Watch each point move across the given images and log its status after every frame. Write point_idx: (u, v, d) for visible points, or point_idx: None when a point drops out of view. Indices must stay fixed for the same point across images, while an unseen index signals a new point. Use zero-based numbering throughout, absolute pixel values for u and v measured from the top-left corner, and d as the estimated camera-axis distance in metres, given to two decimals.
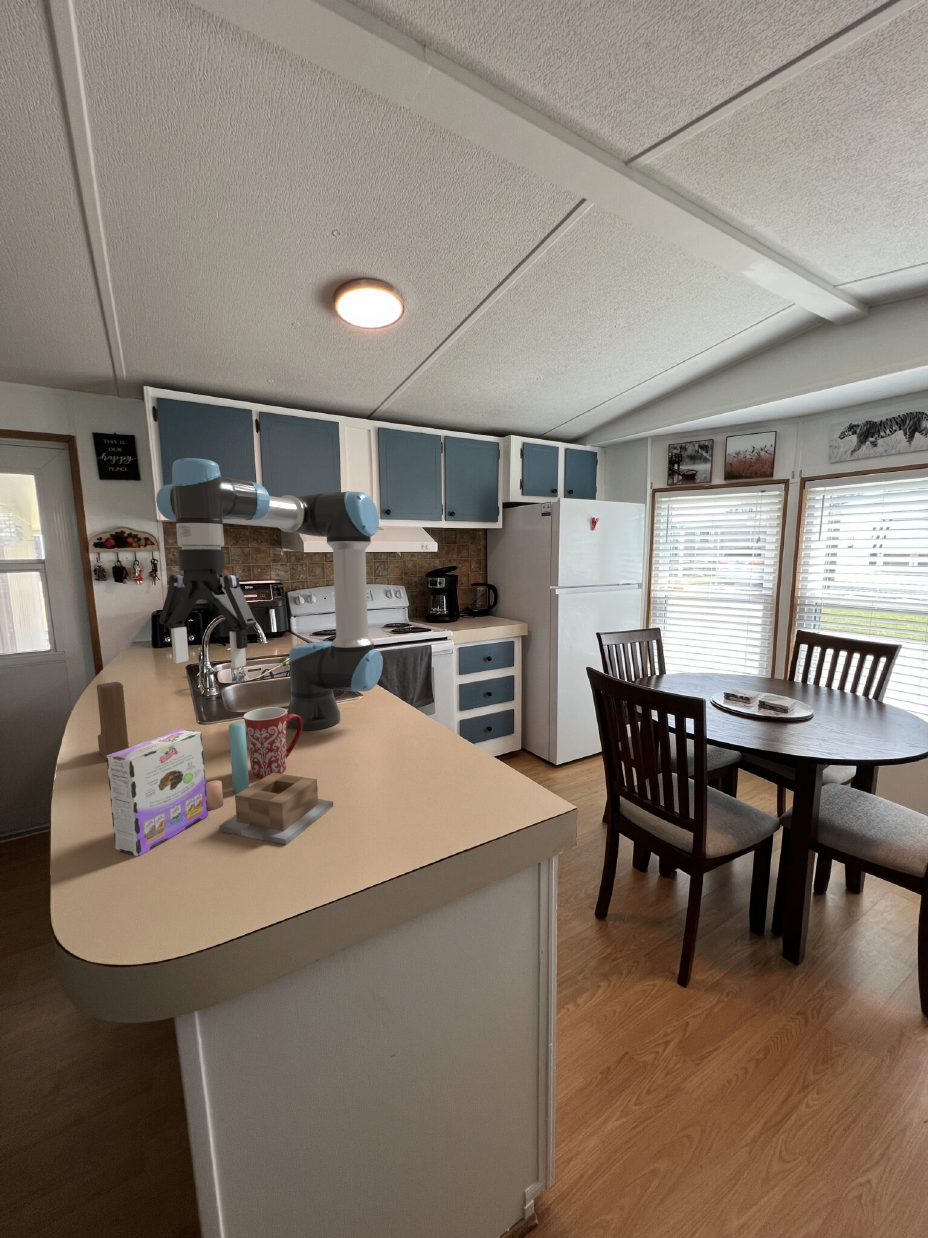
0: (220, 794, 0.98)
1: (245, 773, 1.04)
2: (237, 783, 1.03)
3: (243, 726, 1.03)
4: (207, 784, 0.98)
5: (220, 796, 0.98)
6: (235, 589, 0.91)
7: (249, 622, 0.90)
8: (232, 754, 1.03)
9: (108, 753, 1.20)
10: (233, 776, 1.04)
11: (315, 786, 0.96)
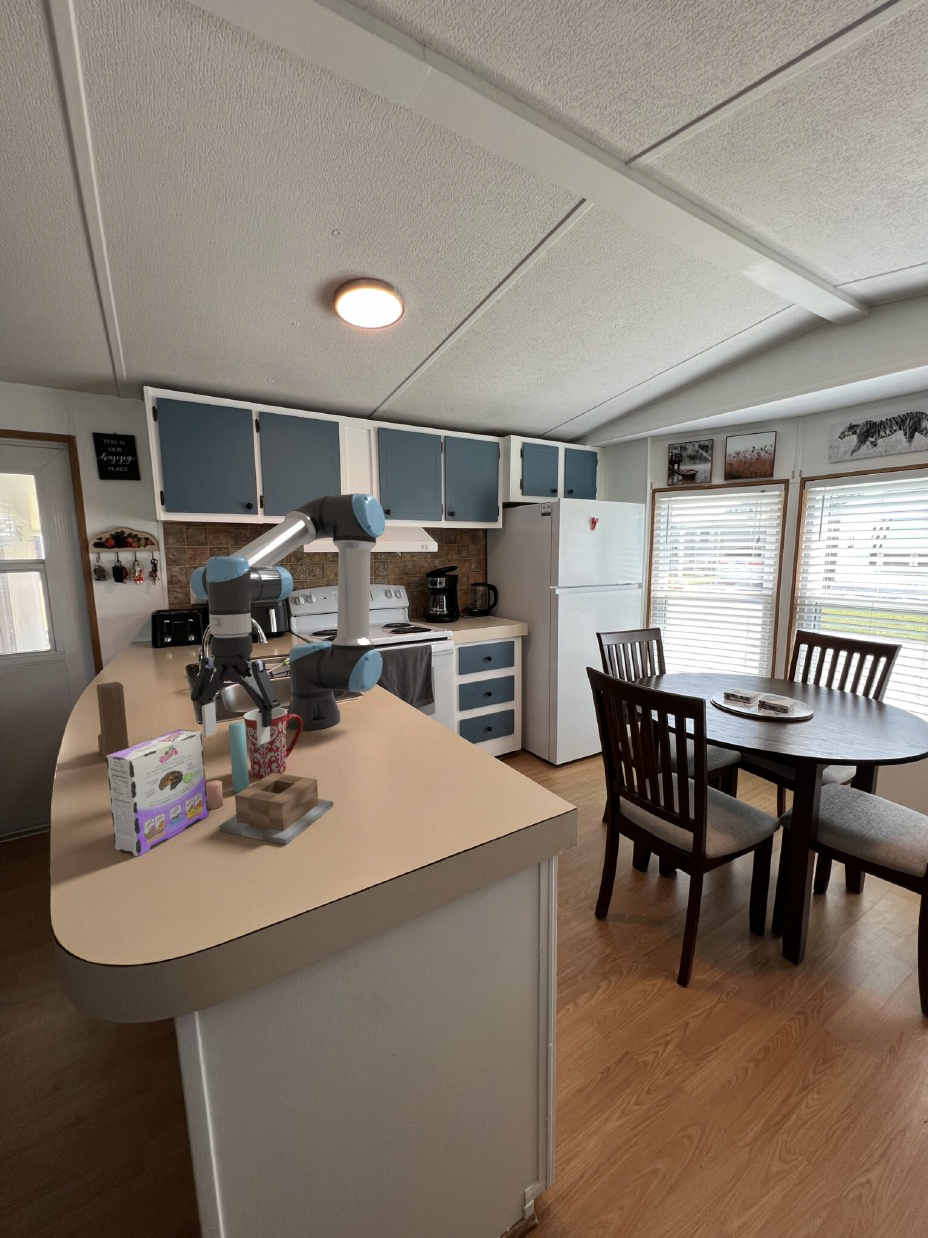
0: (220, 794, 0.98)
1: (245, 773, 1.04)
2: (237, 783, 1.03)
3: (243, 726, 1.03)
4: (207, 784, 0.98)
5: (220, 796, 0.98)
6: (262, 673, 1.00)
7: (274, 704, 0.99)
8: (232, 754, 1.03)
9: (108, 753, 1.20)
10: (233, 776, 1.04)
11: (315, 786, 0.96)
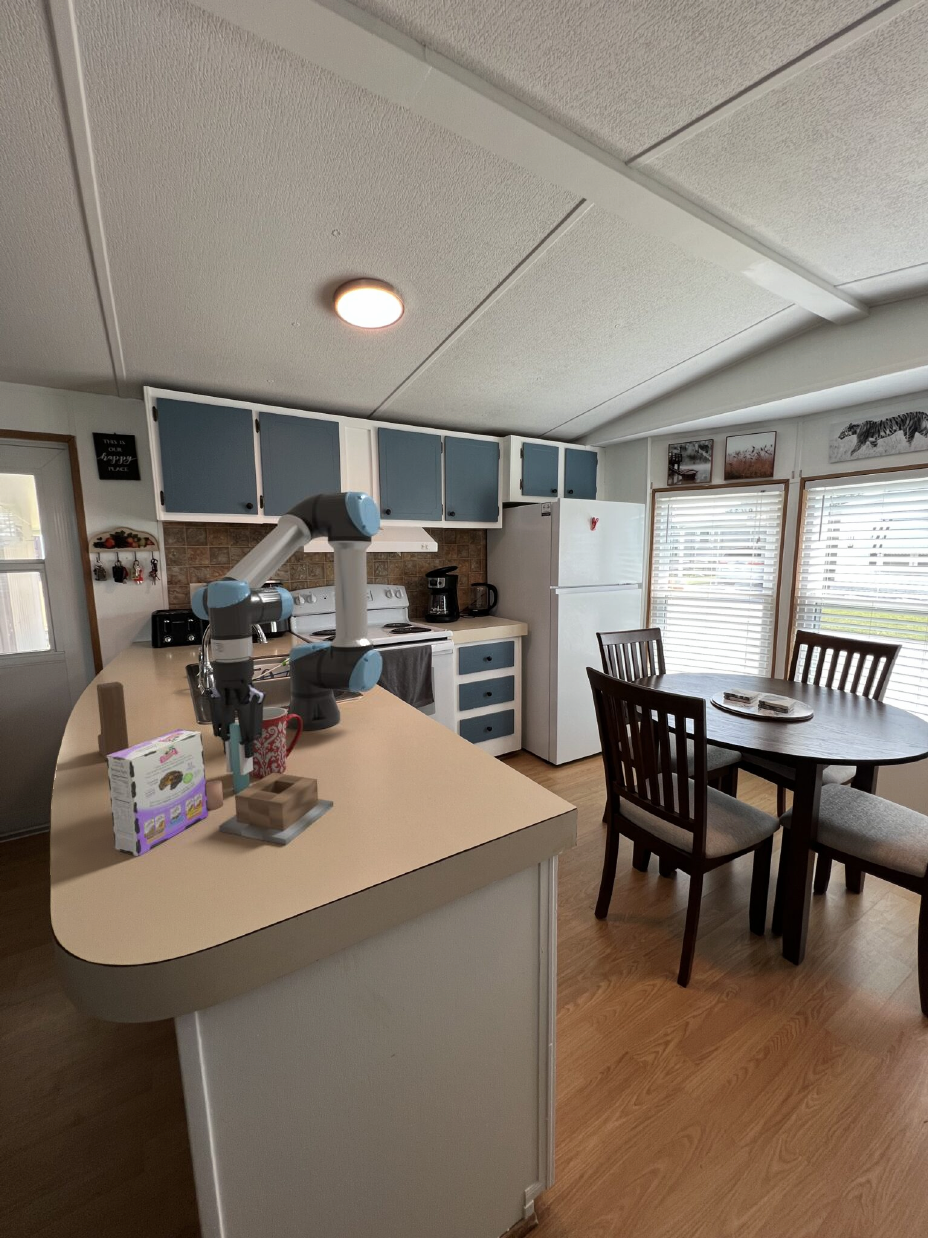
0: (220, 794, 0.98)
1: None
2: (237, 783, 1.04)
3: None
4: (207, 784, 0.98)
5: (220, 796, 0.98)
6: (258, 706, 1.01)
7: (256, 736, 1.02)
8: (233, 754, 1.03)
9: (108, 753, 1.20)
10: (234, 776, 1.04)
11: (315, 786, 0.96)
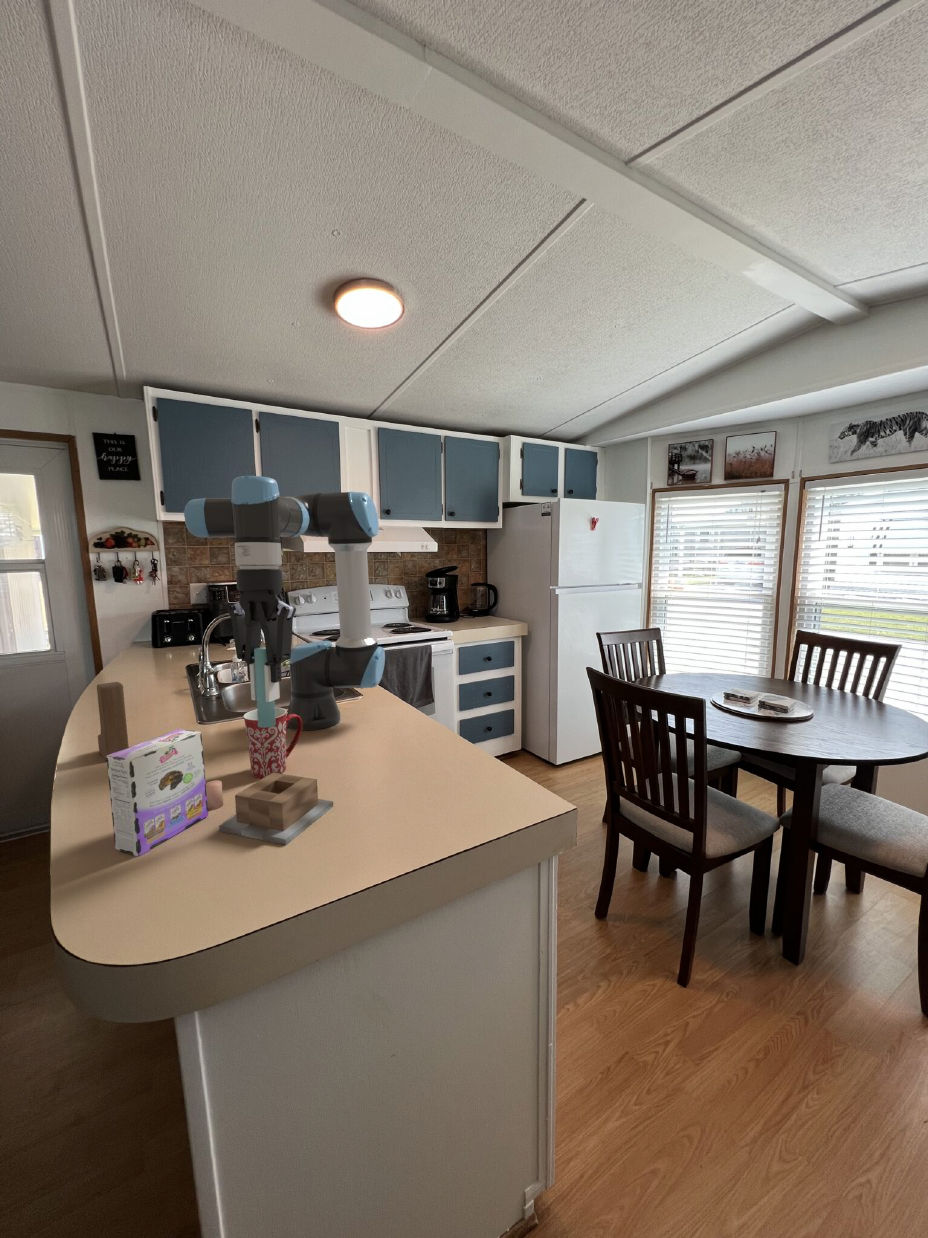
0: (220, 794, 0.98)
1: (271, 704, 0.91)
2: (262, 715, 0.91)
3: None
4: (207, 784, 0.98)
5: (220, 796, 0.98)
6: (287, 622, 0.88)
7: (284, 656, 0.89)
8: (257, 682, 0.90)
9: (108, 753, 1.20)
10: (258, 707, 0.91)
11: (315, 786, 0.96)
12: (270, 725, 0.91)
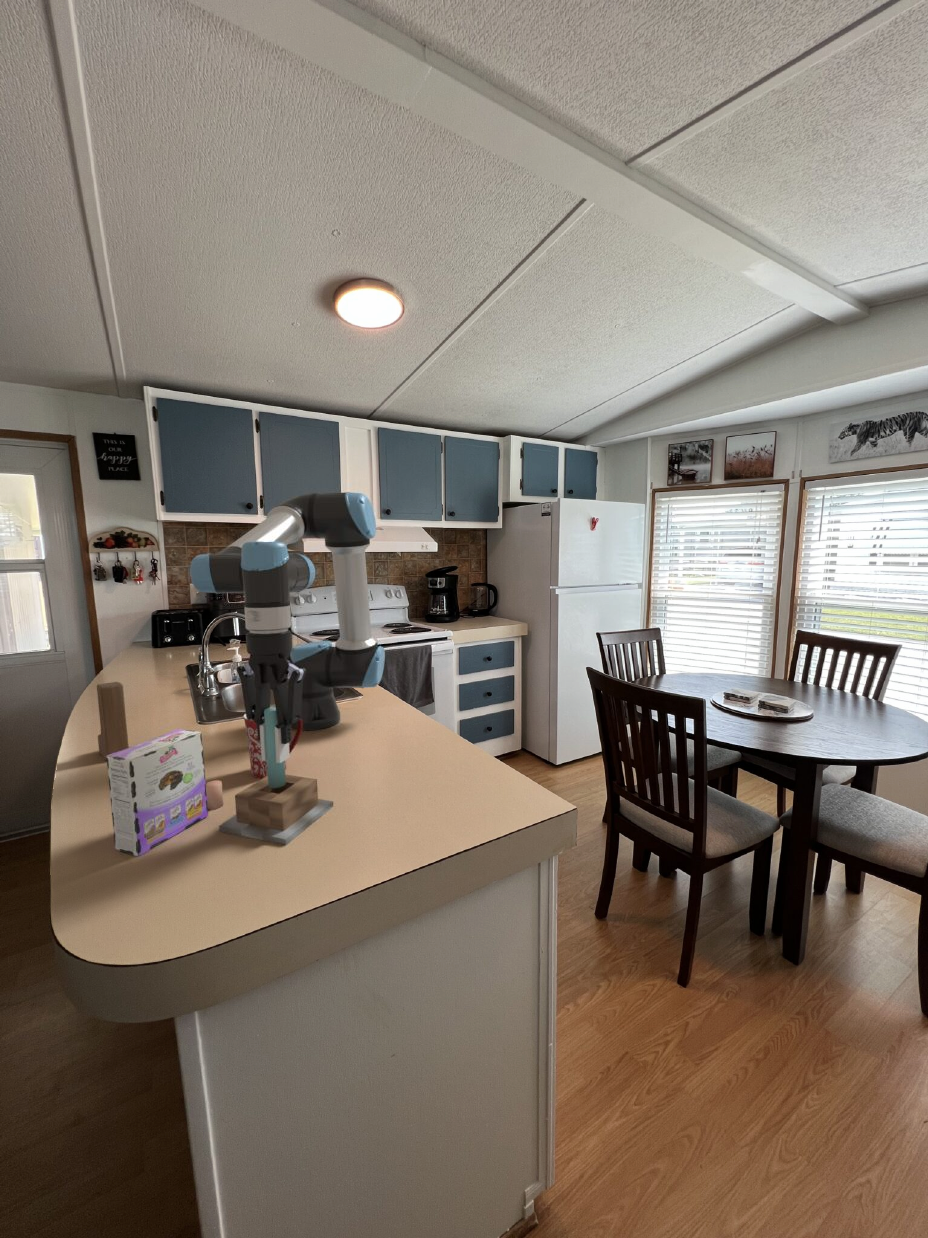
0: (220, 794, 0.98)
1: (282, 765, 0.92)
2: (273, 776, 0.91)
3: None
4: (207, 784, 0.98)
5: (220, 796, 0.98)
6: (298, 685, 0.89)
7: (294, 718, 0.90)
8: (268, 743, 0.91)
9: (108, 753, 1.20)
10: (269, 768, 0.91)
11: (315, 786, 0.96)
12: (280, 785, 0.92)
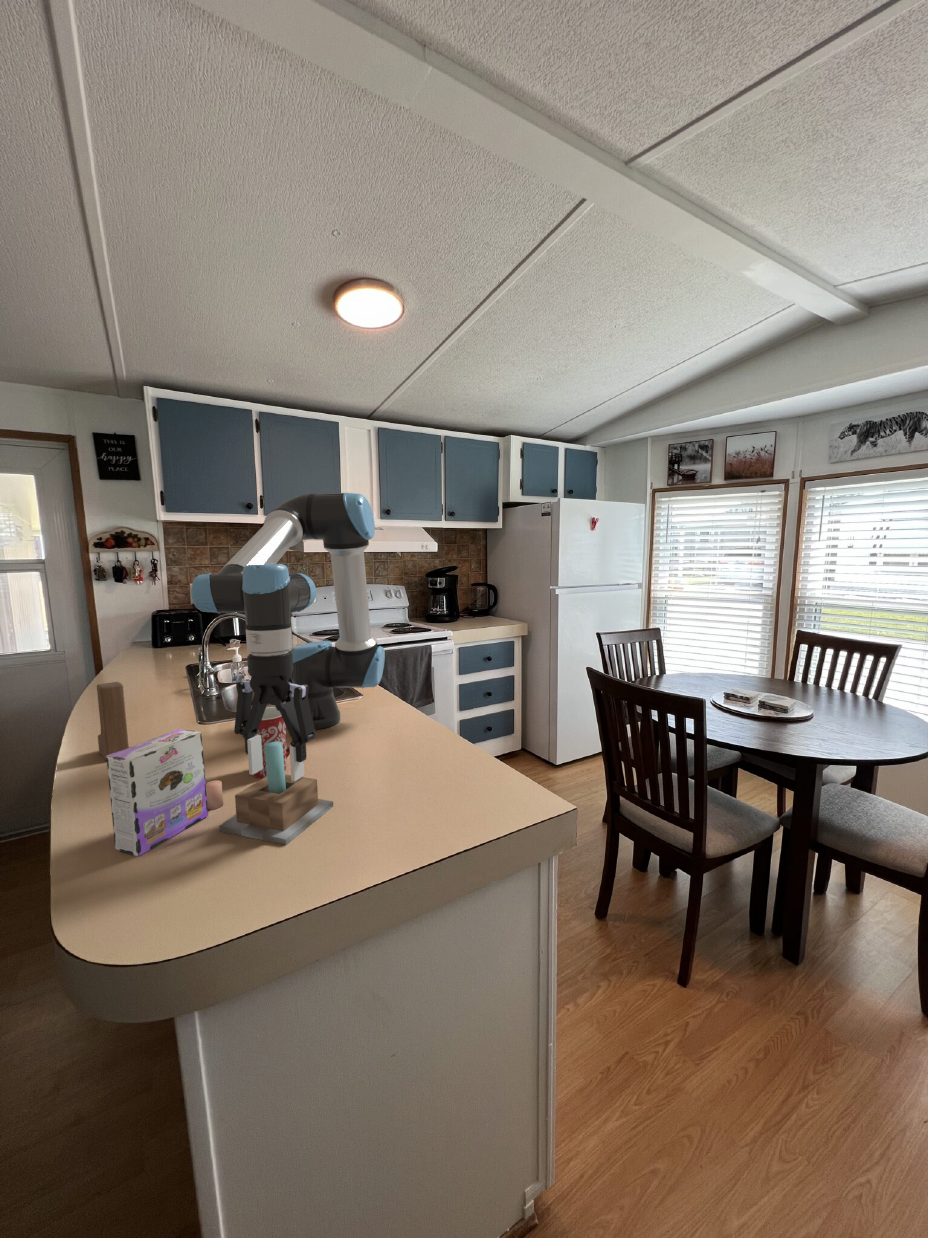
0: (220, 794, 0.98)
1: None
2: None
3: (280, 746, 0.92)
4: (207, 784, 0.98)
5: (220, 796, 0.98)
6: (303, 701, 0.89)
7: (309, 737, 0.89)
8: (269, 778, 0.92)
9: (108, 753, 1.20)
10: None
11: (315, 786, 0.96)
12: None
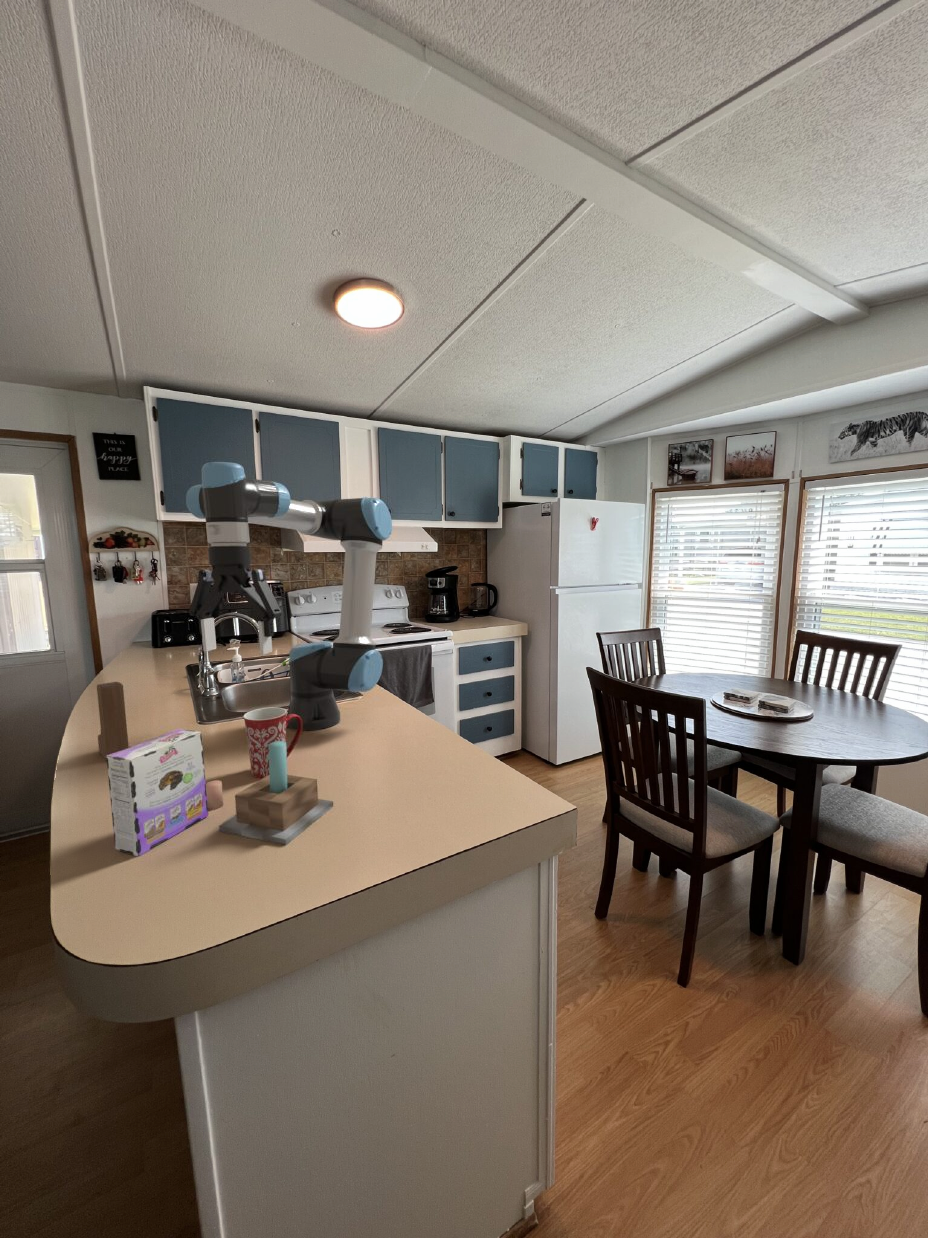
0: (220, 794, 0.98)
1: None
2: None
3: (284, 746, 0.92)
4: (207, 784, 0.98)
5: (220, 796, 0.98)
6: (262, 582, 0.99)
7: (276, 612, 0.99)
8: (271, 777, 0.92)
9: (108, 753, 1.20)
10: None
11: (315, 786, 0.96)
12: None
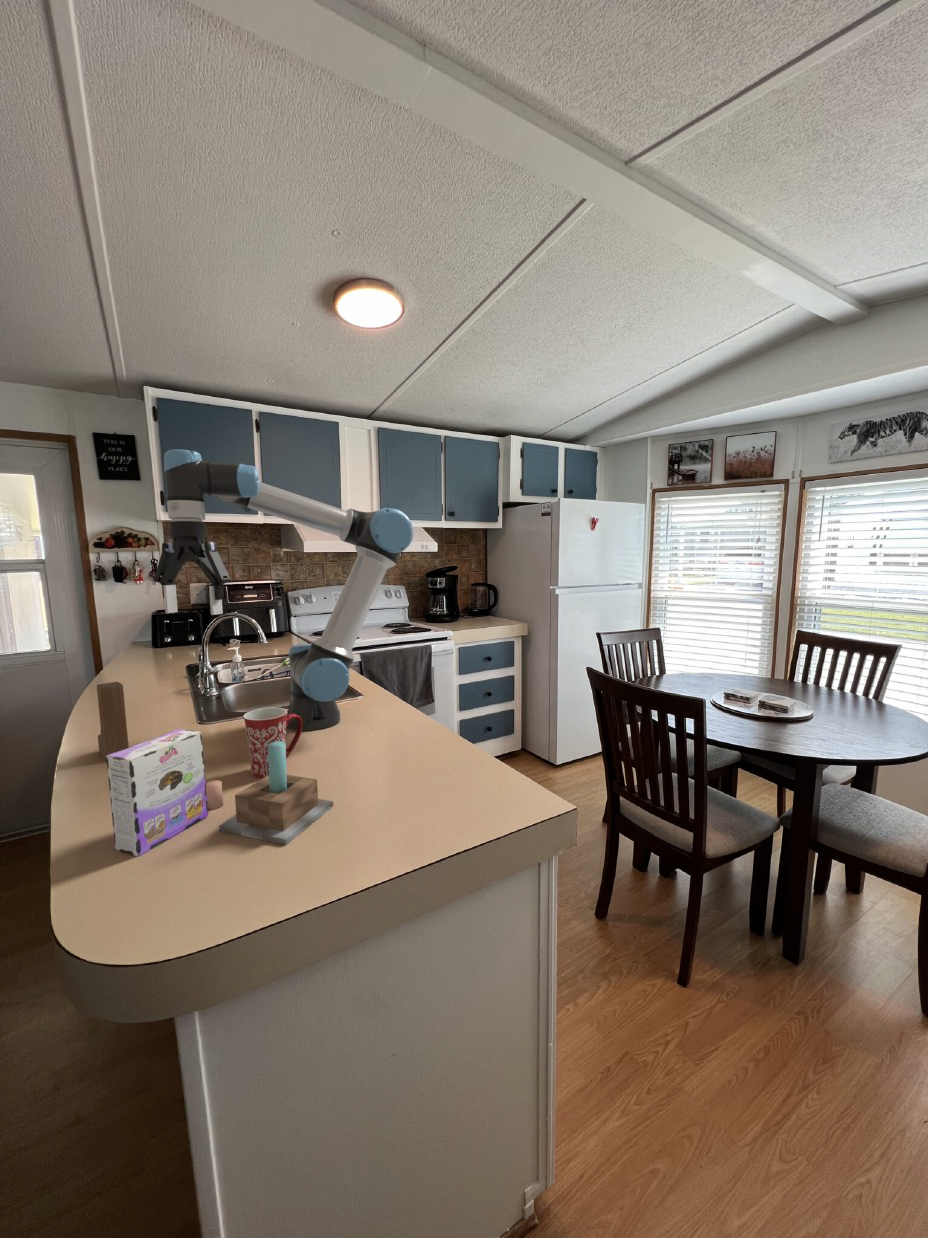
0: (220, 794, 0.98)
1: None
2: None
3: (284, 746, 0.92)
4: (207, 784, 0.98)
5: (220, 796, 0.98)
6: (213, 553, 1.15)
7: (224, 578, 1.15)
8: (271, 778, 0.92)
9: (108, 753, 1.20)
10: None
11: (315, 786, 0.96)
12: None
